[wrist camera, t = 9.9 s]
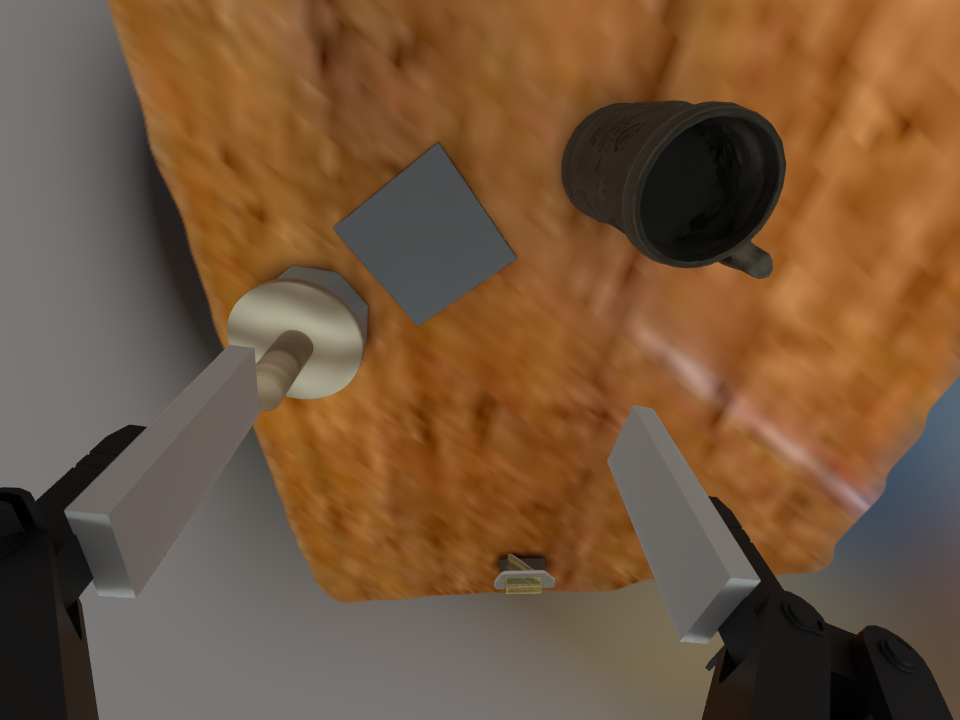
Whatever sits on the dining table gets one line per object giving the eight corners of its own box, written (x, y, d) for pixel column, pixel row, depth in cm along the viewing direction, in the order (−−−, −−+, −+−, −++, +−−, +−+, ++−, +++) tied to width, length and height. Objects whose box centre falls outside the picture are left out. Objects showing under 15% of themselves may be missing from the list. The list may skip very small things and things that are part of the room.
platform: (469, 531, 71) (469, 567, 65) (577, 529, 72) (587, 565, 66) (469, 576, 77) (470, 613, 71) (569, 574, 77) (578, 610, 72)
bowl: (259, 260, 47) (236, 276, 43) (369, 277, 49) (359, 294, 44) (266, 354, 53) (247, 378, 48) (365, 367, 54) (355, 391, 50)
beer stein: (534, 180, 44) (596, 234, 27) (599, 73, 40) (721, 56, 23) (643, 252, 49) (753, 334, 32) (711, 164, 45) (880, 205, 28)
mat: (334, 226, 46) (332, 228, 45) (438, 142, 42) (438, 142, 42) (418, 323, 52) (417, 326, 51) (515, 256, 48) (516, 258, 47)
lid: (227, 268, 42) (161, 310, 33) (367, 289, 44) (341, 335, 34) (240, 383, 49) (188, 445, 39) (362, 397, 50) (339, 461, 41)
